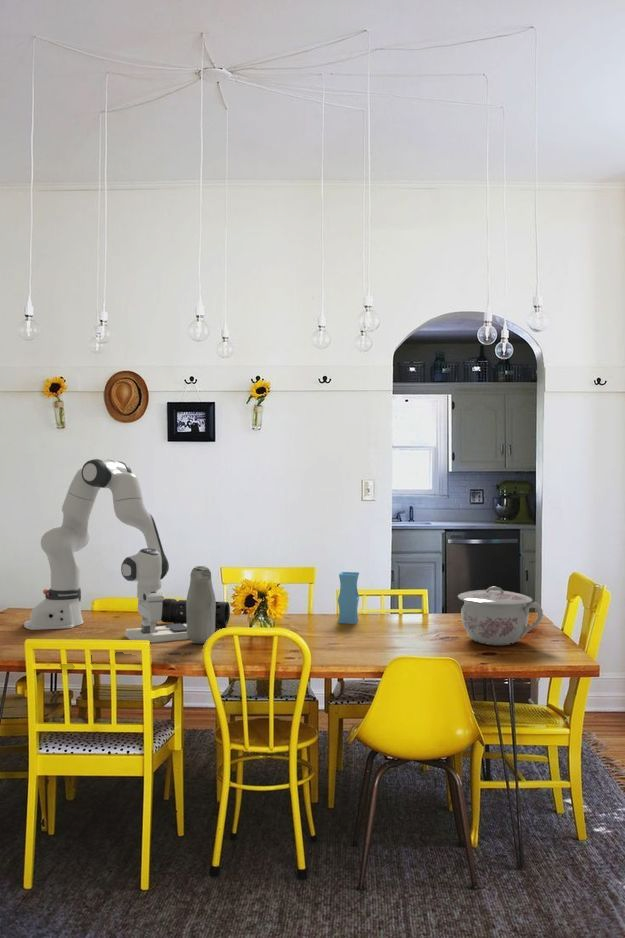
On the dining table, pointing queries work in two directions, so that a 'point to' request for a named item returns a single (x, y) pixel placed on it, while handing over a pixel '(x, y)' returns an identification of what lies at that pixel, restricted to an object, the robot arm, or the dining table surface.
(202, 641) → the grey bottle
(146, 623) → the charger plug
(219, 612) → the black camera lens
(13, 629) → the dining table surface
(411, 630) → the dining table surface
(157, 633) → the outlet board
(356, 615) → the vase
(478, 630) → the chamber pot
